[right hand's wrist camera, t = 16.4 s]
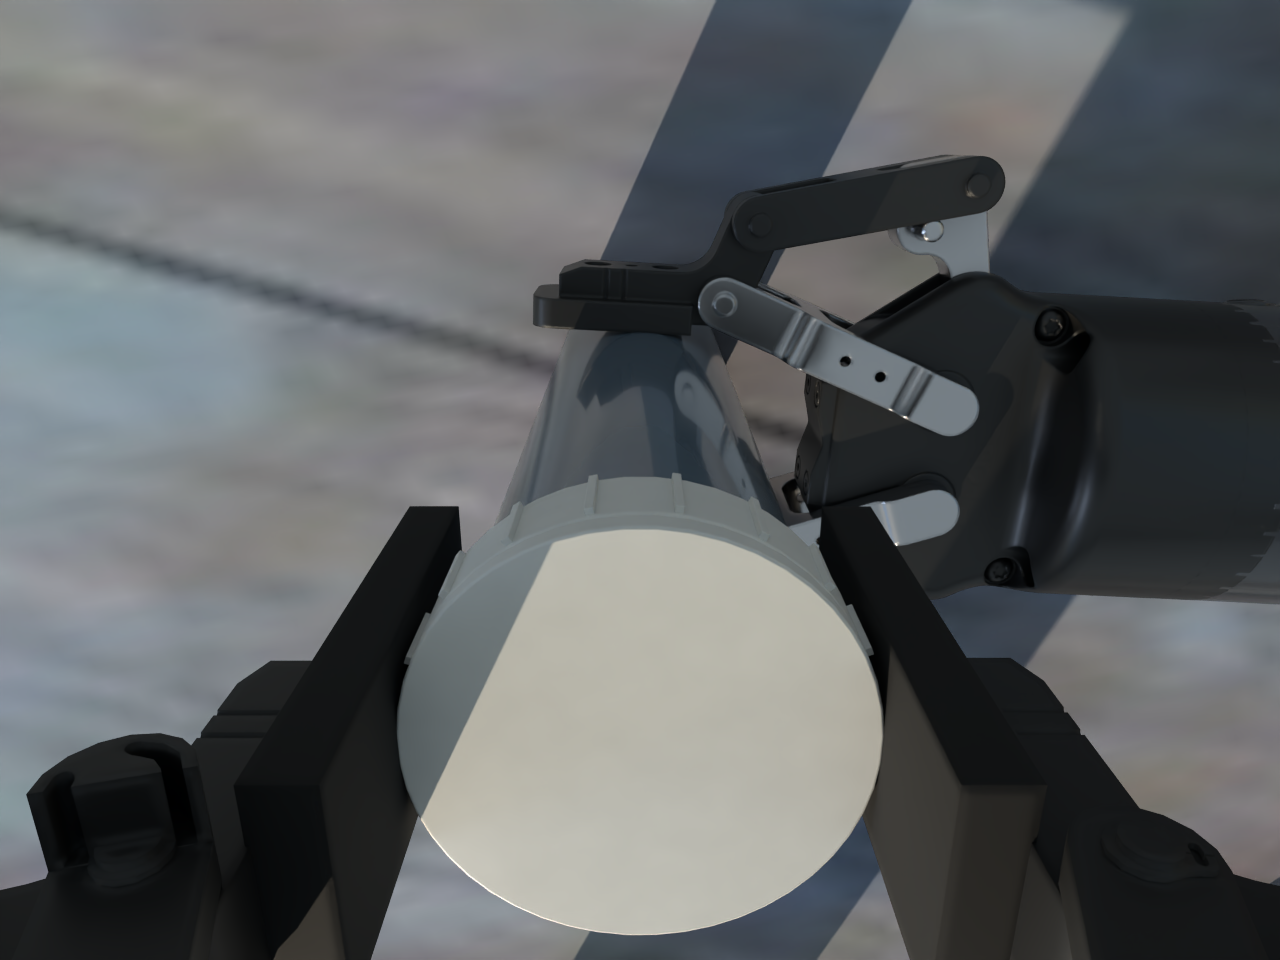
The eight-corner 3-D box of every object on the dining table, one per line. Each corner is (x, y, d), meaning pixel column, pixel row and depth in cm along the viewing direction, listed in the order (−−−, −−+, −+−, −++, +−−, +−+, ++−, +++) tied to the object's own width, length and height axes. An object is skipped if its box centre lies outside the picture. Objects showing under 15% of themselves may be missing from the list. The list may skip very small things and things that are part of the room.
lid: (946, 690, 12) (989, 767, 11) (620, 912, 13) (617, 1009, 12) (664, 373, 11) (668, 411, 9) (329, 658, 12) (285, 733, 10)
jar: (530, 342, 29) (358, 656, 11) (662, 252, 28) (701, 439, 10) (620, 465, 30) (591, 916, 13) (748, 383, 29) (911, 748, 12)
